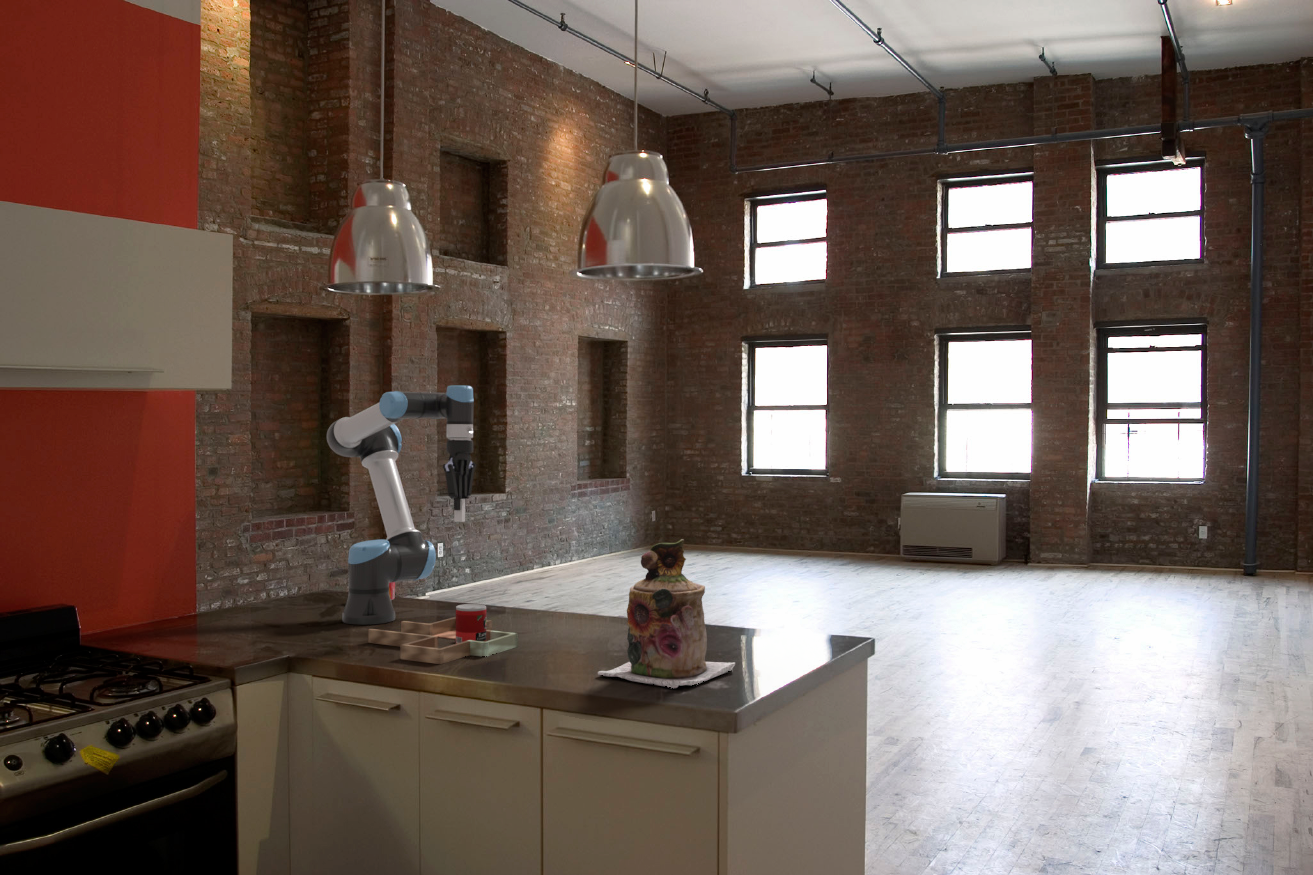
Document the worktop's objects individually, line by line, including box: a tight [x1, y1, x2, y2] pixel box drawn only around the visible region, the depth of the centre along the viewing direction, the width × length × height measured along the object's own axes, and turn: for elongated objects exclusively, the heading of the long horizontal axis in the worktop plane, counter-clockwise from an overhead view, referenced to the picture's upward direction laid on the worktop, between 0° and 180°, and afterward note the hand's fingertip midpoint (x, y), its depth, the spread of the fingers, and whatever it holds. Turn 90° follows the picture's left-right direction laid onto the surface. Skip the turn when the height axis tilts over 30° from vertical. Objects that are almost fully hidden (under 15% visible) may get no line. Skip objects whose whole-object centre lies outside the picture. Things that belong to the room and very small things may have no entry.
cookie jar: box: [597, 538, 736, 689], centre depth 259 cm, size 25×25×32 cm
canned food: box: [455, 603, 487, 644], centre depth 288 cm, size 8×8×11 cm
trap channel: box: [367, 616, 519, 665], centre depth 292 cm, size 38×38×4 cm
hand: (459, 521), depth 316 cm, fingers closed
